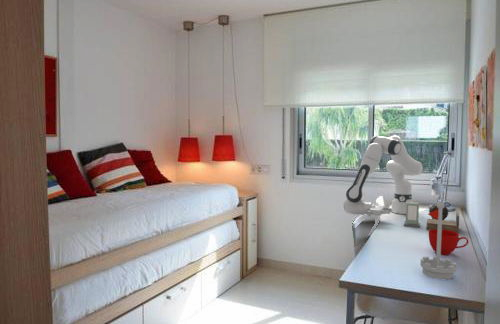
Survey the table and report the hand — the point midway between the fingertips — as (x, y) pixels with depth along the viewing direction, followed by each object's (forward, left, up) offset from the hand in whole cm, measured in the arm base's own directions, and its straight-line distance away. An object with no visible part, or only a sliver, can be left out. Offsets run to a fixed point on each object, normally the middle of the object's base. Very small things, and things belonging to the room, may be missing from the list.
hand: (390, 211), depth 242 cm
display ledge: (0, +30, -8) cm, 31 cm away
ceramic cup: (+54, +32, -8) cm, 63 cm away
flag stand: (+87, +28, -8) cm, 92 cm away
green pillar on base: (0, +13, -8) cm, 15 cm away
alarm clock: (-20, +28, -8) cm, 35 cm away
